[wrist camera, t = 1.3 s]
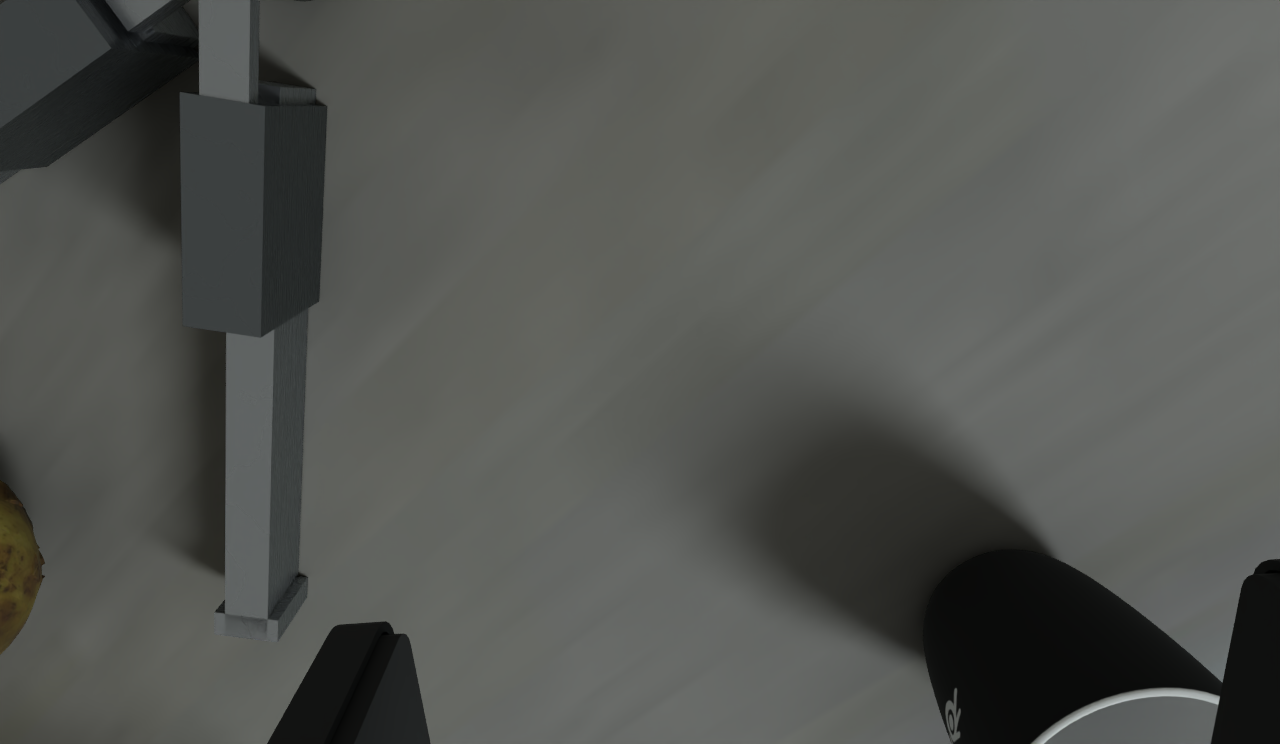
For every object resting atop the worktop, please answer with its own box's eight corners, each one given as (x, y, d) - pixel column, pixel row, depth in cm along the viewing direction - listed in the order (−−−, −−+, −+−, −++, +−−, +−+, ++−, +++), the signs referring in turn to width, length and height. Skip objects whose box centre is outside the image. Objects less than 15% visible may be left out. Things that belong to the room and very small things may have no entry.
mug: (860, 577, 34) (951, 762, 24) (1062, 484, 33) (1241, 641, 23) (964, 772, 37) (1079, 1003, 28) (1150, 695, 36) (1338, 909, 27)
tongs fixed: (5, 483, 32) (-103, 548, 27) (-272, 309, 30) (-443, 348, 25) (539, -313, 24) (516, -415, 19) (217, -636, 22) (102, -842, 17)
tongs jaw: (258, 6, 27) (178, -15, 22) (330, 19, 27) (267, 1, 22) (249, 589, 34) (187, 669, 29) (306, 597, 34) (254, 677, 29)
